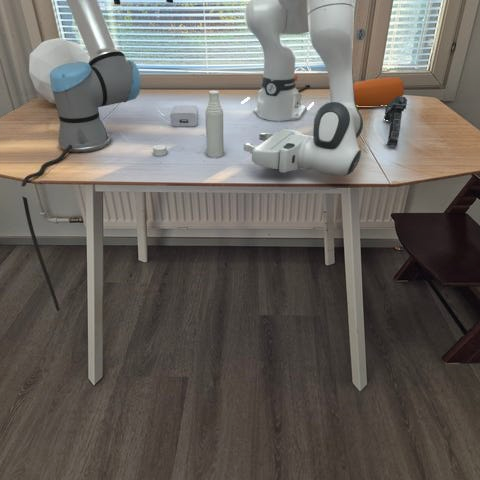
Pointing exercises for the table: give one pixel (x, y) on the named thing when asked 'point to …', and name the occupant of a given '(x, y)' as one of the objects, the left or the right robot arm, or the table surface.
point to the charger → (184, 116)
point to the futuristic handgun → (395, 118)
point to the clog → (377, 91)
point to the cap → (159, 150)
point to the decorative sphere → (52, 62)
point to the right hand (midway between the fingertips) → (252, 141)
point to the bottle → (214, 126)
